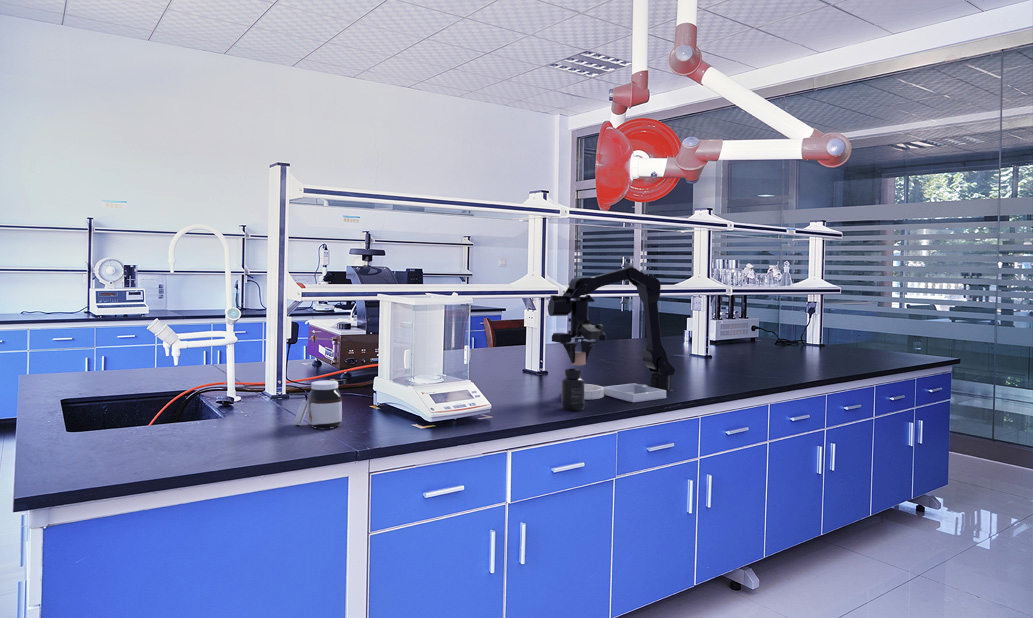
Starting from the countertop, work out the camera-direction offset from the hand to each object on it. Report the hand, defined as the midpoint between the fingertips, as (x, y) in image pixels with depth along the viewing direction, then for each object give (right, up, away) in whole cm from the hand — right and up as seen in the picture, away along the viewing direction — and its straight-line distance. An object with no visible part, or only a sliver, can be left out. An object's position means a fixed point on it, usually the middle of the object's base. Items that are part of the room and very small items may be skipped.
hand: (578, 362), depth 219 cm
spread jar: (-73, -13, -45) cm, 87 cm away
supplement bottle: (-4, -13, -20) cm, 24 cm away
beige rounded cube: (0, -1, 0) cm, 1 cm away
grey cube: (+20, -11, -5) cm, 23 cm away
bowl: (+1, -11, -2) cm, 11 cm away
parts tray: (+18, -11, -2) cm, 21 cm away
